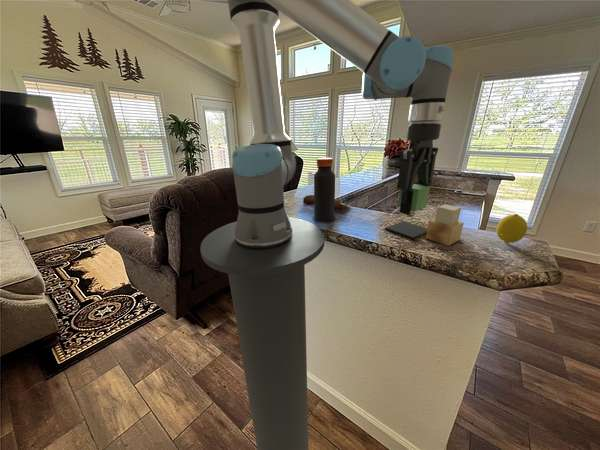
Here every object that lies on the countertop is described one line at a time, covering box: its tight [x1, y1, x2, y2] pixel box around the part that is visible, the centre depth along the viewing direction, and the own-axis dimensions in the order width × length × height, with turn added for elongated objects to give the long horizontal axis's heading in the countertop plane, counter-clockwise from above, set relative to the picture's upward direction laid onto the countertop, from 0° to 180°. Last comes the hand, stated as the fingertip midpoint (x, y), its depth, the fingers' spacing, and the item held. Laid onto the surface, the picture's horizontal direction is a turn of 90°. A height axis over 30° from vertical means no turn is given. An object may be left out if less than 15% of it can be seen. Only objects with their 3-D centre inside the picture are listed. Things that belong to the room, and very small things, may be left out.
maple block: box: [425, 218, 464, 247], centre depth 63 cm, size 6×6×5 cm
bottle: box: [313, 157, 336, 223], centre depth 77 cm, size 7×7×20 cm
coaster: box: [384, 220, 428, 240], centre depth 69 cm, size 9×9×1 cm
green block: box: [396, 183, 431, 212], centre depth 66 cm, size 6×6×6 cm
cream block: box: [434, 203, 462, 226], centre depth 61 cm, size 4×4×4 cm
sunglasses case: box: [302, 194, 351, 213], centre depth 92 cm, size 18×7×7 cm
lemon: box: [496, 213, 528, 244], centre depth 59 cm, size 6×6×8 cm
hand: (411, 211), depth 67 cm, fingers closed on green block, 5 cm apart
